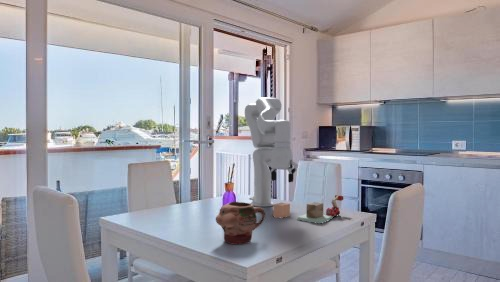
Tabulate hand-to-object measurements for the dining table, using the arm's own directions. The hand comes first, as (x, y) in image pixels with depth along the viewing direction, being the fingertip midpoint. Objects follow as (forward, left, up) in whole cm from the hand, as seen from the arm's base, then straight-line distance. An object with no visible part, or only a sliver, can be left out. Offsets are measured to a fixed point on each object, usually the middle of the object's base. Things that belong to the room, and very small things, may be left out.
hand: (282, 181), depth 180 cm
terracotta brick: (0, 0, -17) cm, 17 cm away
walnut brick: (+16, +4, -16) cm, 22 cm away
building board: (+16, +4, -17) cm, 24 cm away
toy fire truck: (+19, +17, -17) cm, 31 cm away
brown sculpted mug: (+11, -44, -17) cm, 48 cm away
